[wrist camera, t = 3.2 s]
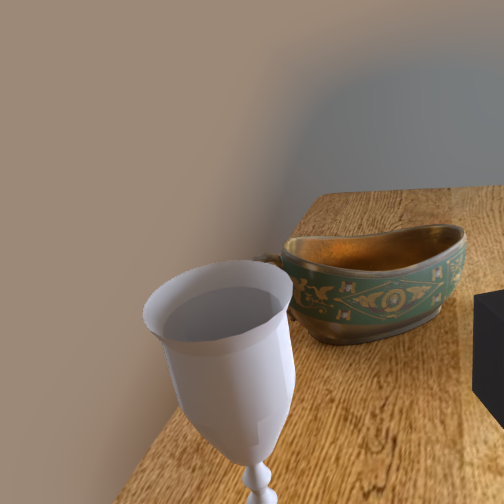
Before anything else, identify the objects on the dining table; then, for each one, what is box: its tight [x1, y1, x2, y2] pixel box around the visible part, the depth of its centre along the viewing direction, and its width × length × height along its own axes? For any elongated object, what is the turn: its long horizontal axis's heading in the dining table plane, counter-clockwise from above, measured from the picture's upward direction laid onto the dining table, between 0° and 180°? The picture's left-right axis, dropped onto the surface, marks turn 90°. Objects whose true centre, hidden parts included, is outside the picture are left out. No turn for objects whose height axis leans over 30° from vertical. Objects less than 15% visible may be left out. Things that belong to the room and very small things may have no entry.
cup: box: [252, 224, 466, 345], centre depth 48 cm, size 13×20×10 cm, turn 72°
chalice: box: [143, 260, 295, 504], centre depth 24 cm, size 7×7×18 cm
